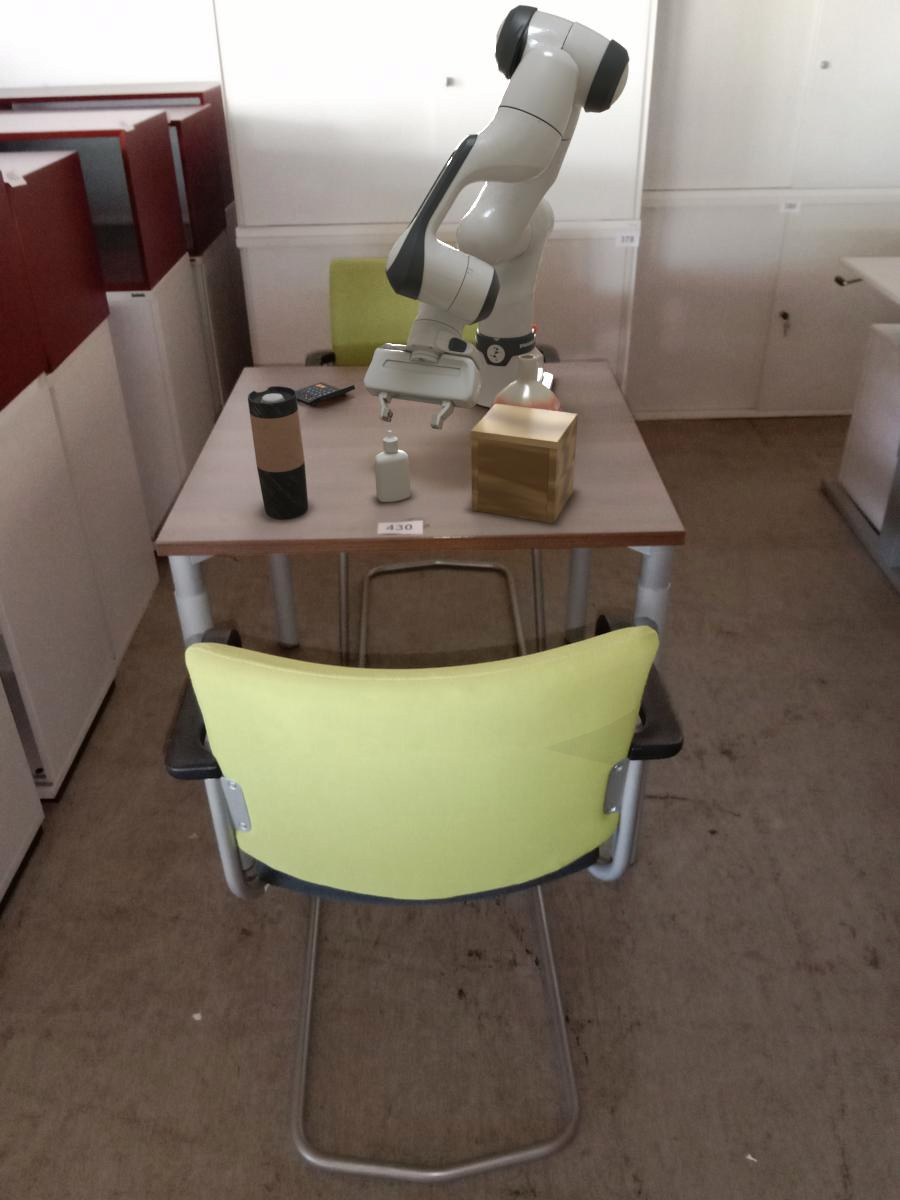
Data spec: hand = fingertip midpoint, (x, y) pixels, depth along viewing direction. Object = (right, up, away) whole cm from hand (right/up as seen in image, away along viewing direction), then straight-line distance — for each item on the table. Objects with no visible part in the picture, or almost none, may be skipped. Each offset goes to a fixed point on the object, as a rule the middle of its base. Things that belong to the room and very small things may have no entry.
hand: (409, 424), depth 155 cm
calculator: (-21, +13, +43) cm, 49 cm away
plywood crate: (+19, -13, 0) cm, 23 cm away
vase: (+21, -2, +18) cm, 27 cm away
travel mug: (-20, -15, -1) cm, 25 cm away
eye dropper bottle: (-3, -12, +2) cm, 13 cm away
